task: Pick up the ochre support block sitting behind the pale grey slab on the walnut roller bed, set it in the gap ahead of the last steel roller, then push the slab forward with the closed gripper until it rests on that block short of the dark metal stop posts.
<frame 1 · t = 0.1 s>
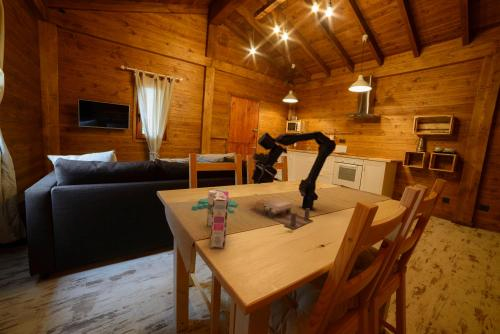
hand: (255, 181, 108), 15 cm above the table, tool tilted 30°, fingers open, 9 cm apart
syrup box: (216, 225, 90), on the table
slab: (277, 206, 106), point 4 cm above the table, touching roller bed
alien figure: (217, 207, 114), on the table
roller bed: (283, 217, 104), on the table
support block: (262, 208, 113), point 1 cm above the table, touching roller bed
candy bar box: (218, 241, 77), on the table
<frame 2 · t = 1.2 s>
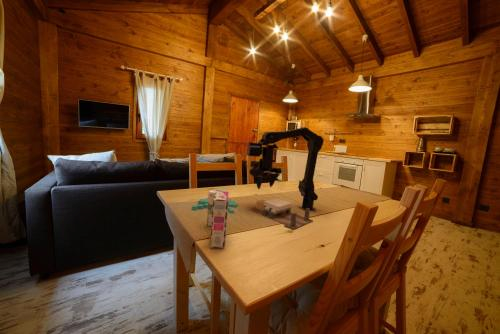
hand: (264, 187, 111), 11 cm above the table, tool pointing down, fingers open, 9 cm apart
nothing on the table moved.
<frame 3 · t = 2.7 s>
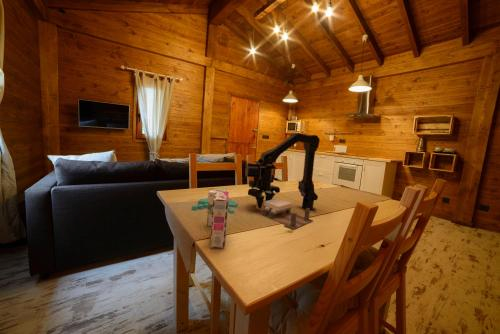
hand: (263, 207, 113), 1 cm above the table, tool pointing down, fingers closed on support block, 5 cm apart
support block: (262, 208, 113), point 1 cm above the table, touching gripper, roller bed
everything else where it was.
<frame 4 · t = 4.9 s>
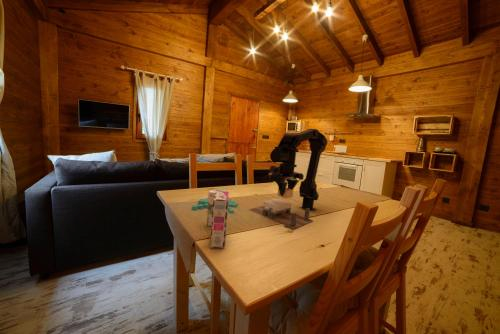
hand: (285, 195, 103), 11 cm above the table, tool pointing down, fingers closed on support block, 5 cm apart
support block: (285, 196, 103), point 10 cm above the table, touching gripper
everything else where it was.
when the fingers open (3 cm above the table, at t = 7.1 s): support block drops 1 cm, resting on roller bed.
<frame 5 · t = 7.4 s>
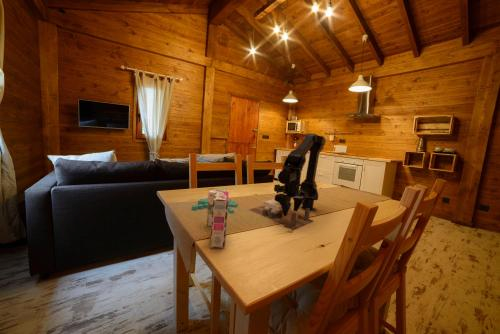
hand: (290, 214, 101), 3 cm above the table, tool pointing down, fingers open, 8 cm apart
support block: (289, 218, 102), point 1 cm above the table, touching roller bed
everything else where it was.
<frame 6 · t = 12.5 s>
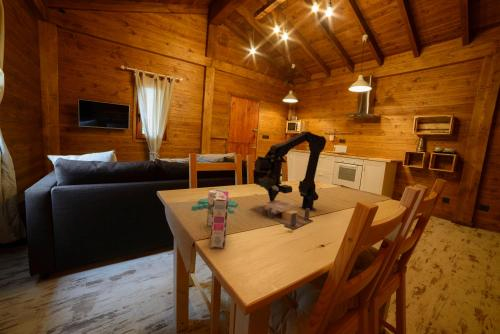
hand: (271, 202, 108), 5 cm above the table, tool pointing down, fingers closed
slab: (280, 207, 105), point 4 cm above the table, touching gripper, roller bed
everything else where it was.
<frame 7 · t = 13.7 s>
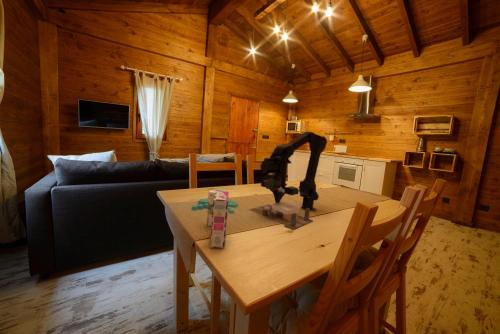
hand: (277, 204, 106), 5 cm above the table, tool pointing down, fingers closed
slab: (285, 209, 103), point 4 cm above the table, touching gripper, roller bed, support block
support block: (290, 218, 101), point 1 cm above the table, touching roller bed, slab
everything else where it was.
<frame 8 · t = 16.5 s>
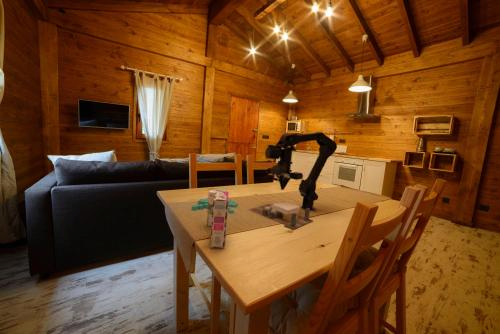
hand: (282, 189, 112), 11 cm above the table, tool pointing down, fingers closed
slab: (285, 209, 103), point 4 cm above the table, touching roller bed, support block
everything else where it was.
at the end: slab tilted 1°; slab moved 5.0 cm from its start; slab touching roller bed, support block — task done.
